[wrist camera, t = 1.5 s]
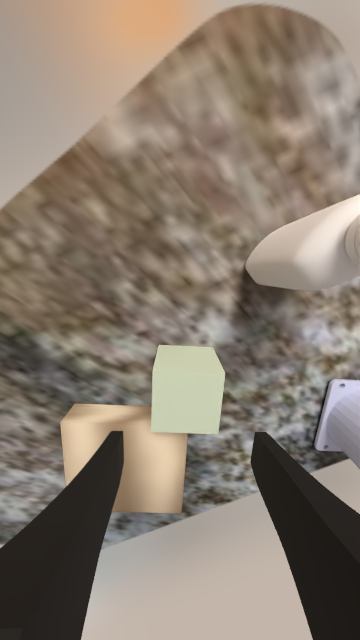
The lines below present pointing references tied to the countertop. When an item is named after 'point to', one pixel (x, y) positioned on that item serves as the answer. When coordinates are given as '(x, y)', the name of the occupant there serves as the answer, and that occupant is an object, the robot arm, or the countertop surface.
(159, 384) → the green cube
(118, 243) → the countertop surface
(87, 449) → the block
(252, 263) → the eye dropper bottle
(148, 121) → the countertop surface
